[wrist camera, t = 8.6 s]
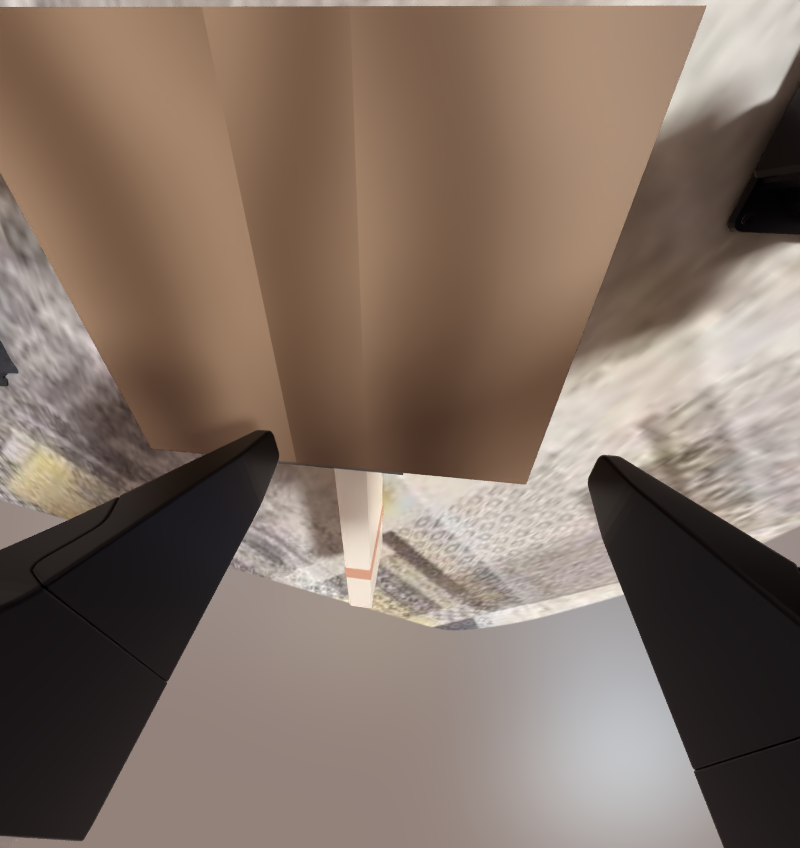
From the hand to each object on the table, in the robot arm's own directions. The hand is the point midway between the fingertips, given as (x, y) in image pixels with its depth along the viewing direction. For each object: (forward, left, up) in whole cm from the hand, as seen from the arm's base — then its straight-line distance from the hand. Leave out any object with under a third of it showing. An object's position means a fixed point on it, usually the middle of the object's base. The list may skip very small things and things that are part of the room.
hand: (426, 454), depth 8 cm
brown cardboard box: (+4, -3, -12) cm, 12 cm away
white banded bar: (+4, +13, -11) cm, 18 cm away
